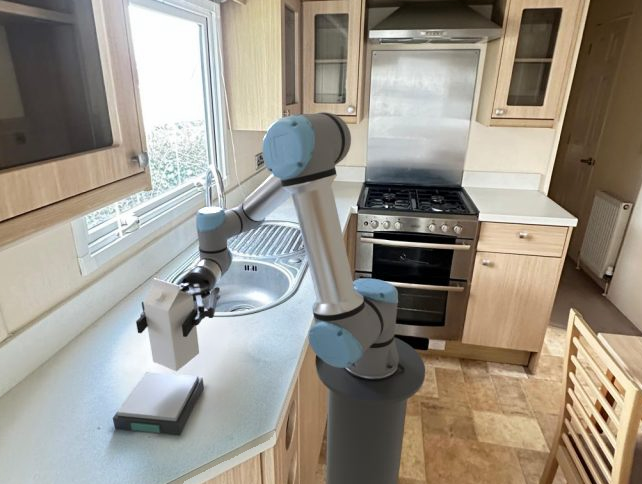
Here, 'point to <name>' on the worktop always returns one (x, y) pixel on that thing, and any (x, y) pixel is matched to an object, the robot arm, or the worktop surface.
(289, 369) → the worktop surface
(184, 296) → the milk carton
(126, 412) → the kitchen scale
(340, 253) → the robot arm
